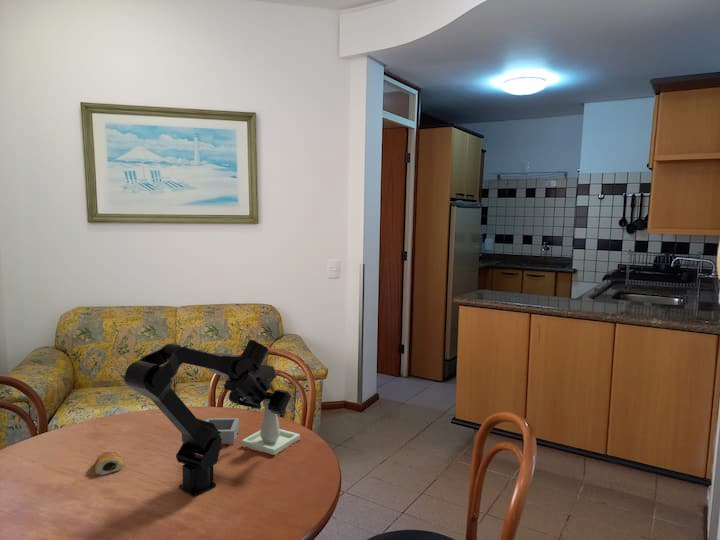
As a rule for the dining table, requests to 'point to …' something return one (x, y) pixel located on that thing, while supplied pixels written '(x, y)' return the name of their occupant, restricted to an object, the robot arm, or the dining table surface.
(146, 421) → the dining table surface
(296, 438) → the tray
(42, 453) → the dining table surface
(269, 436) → the salt shaker
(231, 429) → the holder
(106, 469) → the pastry
